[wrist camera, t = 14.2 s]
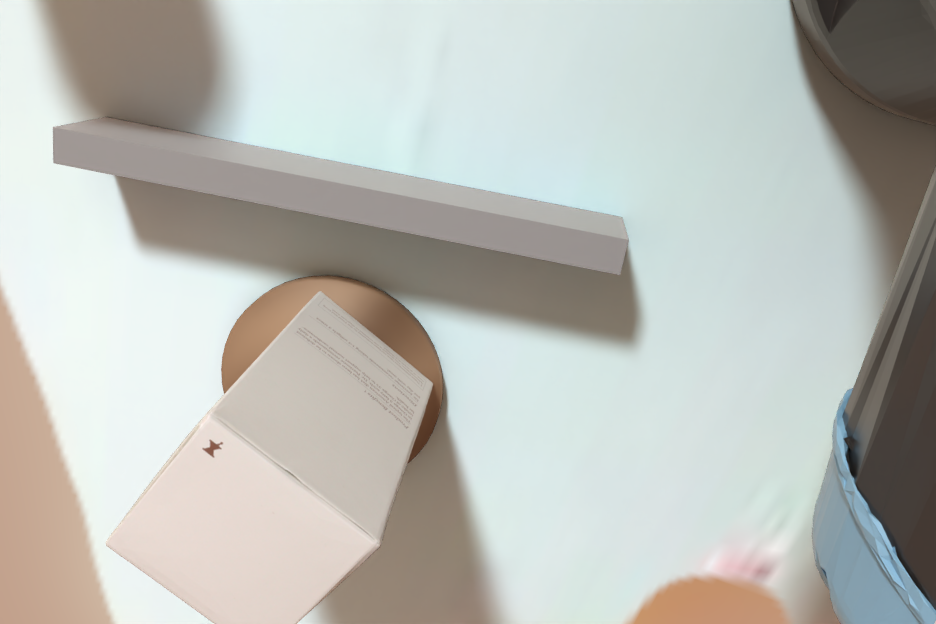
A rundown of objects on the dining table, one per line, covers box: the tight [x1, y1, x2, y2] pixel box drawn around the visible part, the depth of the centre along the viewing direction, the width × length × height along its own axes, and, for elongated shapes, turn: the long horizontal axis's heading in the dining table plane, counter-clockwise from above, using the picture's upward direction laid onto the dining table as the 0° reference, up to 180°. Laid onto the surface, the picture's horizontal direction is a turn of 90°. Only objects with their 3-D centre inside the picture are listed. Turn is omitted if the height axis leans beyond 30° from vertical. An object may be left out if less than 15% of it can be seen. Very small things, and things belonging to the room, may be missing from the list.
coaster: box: [221, 275, 443, 464], centre depth 39 cm, size 11×11×1 cm
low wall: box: [53, 117, 629, 275], centre depth 34 cm, size 24×2×4 cm, turn 80°
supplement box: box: [106, 291, 433, 624], centre depth 33 cm, size 7×7×13 cm
